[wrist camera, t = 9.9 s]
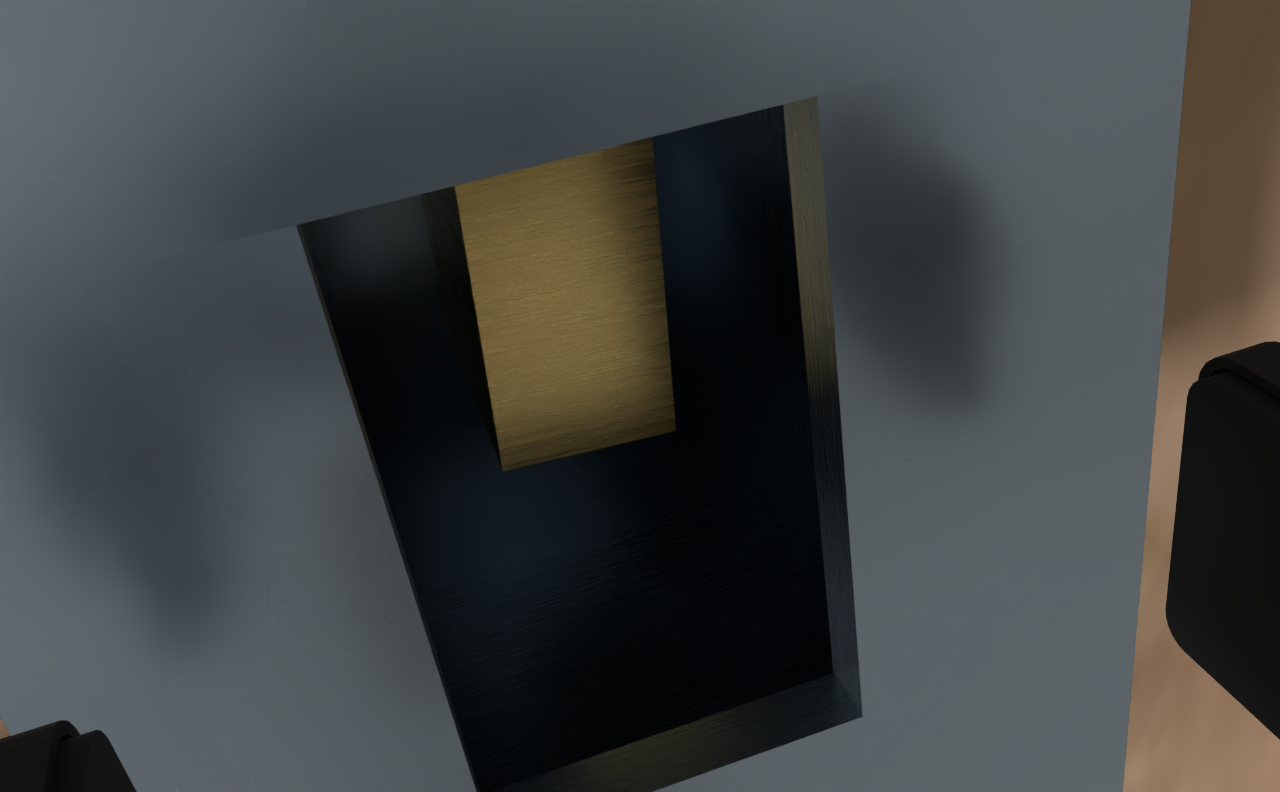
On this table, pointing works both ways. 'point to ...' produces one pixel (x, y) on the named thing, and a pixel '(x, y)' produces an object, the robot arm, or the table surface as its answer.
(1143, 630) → the table surface
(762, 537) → the money box
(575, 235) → the olive rectangular prism
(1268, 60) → the table surface
